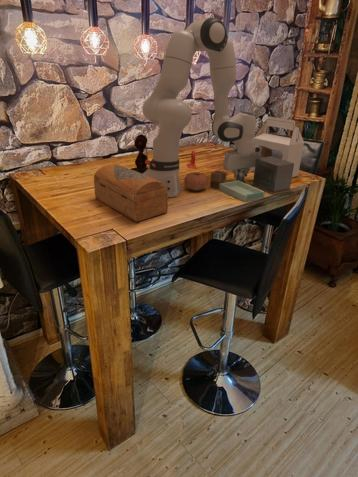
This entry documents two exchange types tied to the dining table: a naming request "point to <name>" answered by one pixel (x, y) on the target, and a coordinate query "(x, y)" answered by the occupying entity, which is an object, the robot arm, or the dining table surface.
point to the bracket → (192, 160)
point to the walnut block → (217, 179)
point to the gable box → (280, 142)
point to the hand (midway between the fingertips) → (240, 177)
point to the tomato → (196, 181)
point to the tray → (241, 191)
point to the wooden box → (130, 192)
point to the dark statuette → (141, 154)
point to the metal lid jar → (241, 175)
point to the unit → (273, 175)
